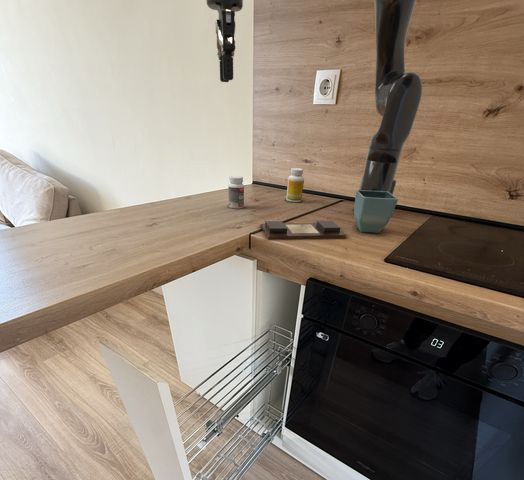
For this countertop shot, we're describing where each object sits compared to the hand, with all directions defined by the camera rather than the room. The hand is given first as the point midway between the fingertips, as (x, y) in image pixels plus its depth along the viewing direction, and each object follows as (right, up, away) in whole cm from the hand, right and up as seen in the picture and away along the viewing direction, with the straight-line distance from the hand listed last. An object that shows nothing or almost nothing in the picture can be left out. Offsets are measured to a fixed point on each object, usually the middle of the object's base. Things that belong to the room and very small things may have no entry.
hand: (226, 81), depth 71 cm
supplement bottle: (+19, -12, +34) cm, 41 cm away
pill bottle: (0, -18, +24) cm, 30 cm away
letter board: (+19, -33, +8) cm, 38 cm away
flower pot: (+37, -30, +12) cm, 50 cm away
